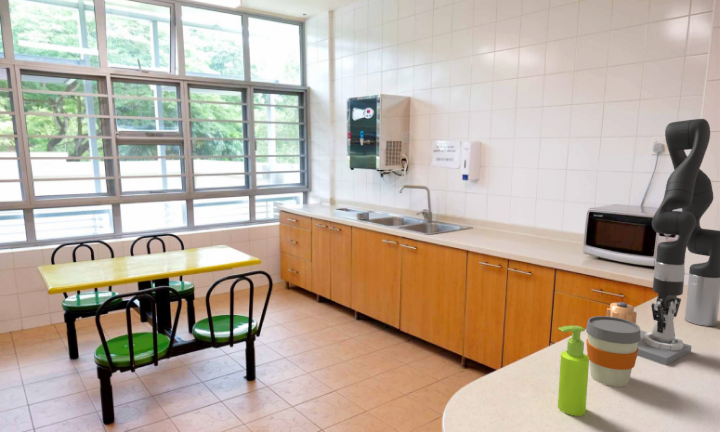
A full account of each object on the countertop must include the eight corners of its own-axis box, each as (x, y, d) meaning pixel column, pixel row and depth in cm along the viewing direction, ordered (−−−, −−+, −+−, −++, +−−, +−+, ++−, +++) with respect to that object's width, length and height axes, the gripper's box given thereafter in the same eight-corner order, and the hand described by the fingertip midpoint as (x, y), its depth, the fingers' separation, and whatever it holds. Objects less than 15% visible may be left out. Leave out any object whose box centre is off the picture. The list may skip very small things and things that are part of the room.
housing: (619, 329, 155) (622, 293, 153) (690, 352, 137) (694, 311, 135) (593, 340, 146) (596, 301, 144) (665, 365, 128) (669, 321, 127)
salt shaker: (667, 338, 141) (671, 298, 139) (678, 346, 135) (682, 304, 134) (647, 338, 142) (651, 297, 140) (657, 345, 136) (661, 303, 134)
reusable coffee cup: (608, 393, 113) (612, 335, 111) (572, 370, 125) (575, 318, 123) (648, 386, 117) (653, 330, 115) (609, 365, 129) (613, 313, 127)
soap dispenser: (548, 403, 109) (553, 322, 106) (576, 401, 109) (581, 321, 107) (561, 416, 103) (566, 332, 100) (590, 415, 104) (596, 331, 101)
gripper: (666, 271, 143) (661, 324, 145) (643, 277, 135) (639, 333, 137) (693, 276, 136) (688, 331, 139) (671, 283, 129) (666, 341, 131)
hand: (663, 332), depth 138 cm, fingers closed on salt shaker, 3 cm apart
